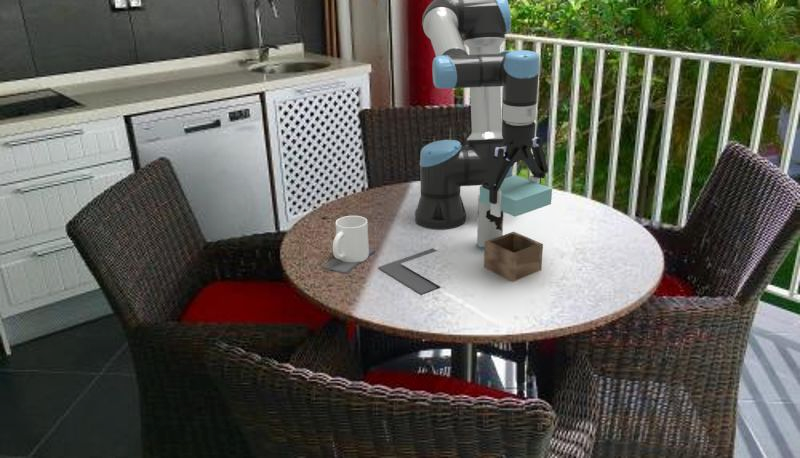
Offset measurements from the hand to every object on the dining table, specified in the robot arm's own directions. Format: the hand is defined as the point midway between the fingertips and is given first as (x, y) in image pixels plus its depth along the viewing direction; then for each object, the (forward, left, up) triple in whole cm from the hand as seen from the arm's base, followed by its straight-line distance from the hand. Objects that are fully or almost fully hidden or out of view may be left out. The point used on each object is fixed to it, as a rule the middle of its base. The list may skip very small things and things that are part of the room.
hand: (514, 208), depth 164 cm
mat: (-14, -16, -17) cm, 27 cm away
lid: (0, 0, 0) cm, 0 cm away
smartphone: (-32, -28, -17) cm, 46 cm away
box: (0, 0, -17) cm, 17 cm away
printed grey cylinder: (-13, +5, -17) cm, 22 cm away
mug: (-32, -28, -17) cm, 46 cm away
